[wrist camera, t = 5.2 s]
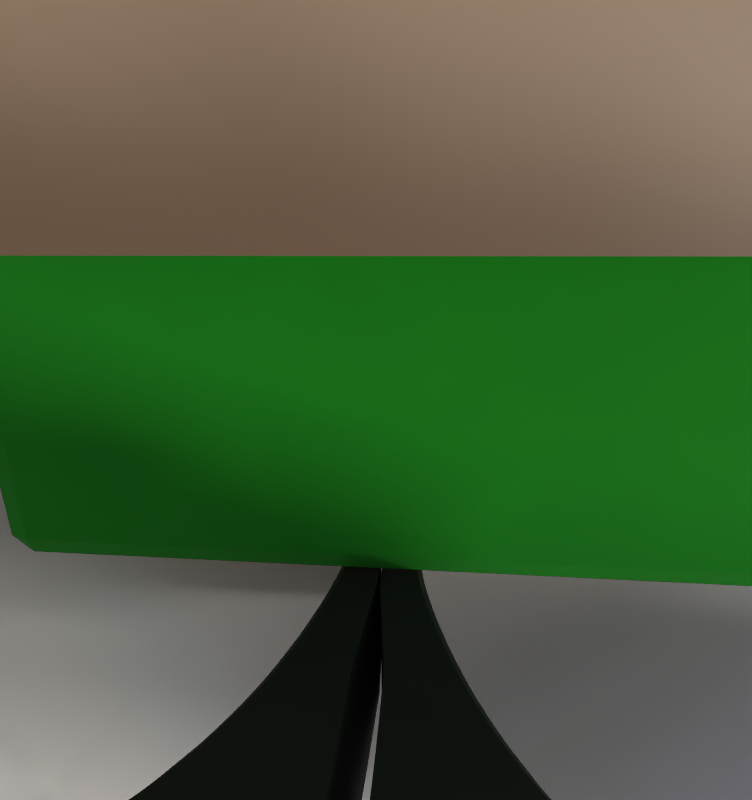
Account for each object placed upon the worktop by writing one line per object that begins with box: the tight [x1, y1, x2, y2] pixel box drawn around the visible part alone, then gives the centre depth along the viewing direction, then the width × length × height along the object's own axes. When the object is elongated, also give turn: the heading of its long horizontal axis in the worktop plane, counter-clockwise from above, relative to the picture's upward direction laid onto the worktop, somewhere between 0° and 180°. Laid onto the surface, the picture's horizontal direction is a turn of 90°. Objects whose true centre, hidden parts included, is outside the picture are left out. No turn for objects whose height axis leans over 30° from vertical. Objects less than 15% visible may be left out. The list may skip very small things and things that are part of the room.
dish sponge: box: [0, 256, 752, 586], centre depth 11 cm, size 7×14×2 cm, turn 90°
